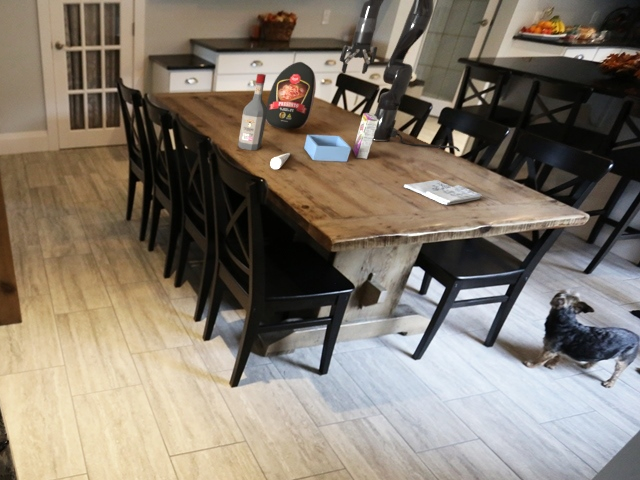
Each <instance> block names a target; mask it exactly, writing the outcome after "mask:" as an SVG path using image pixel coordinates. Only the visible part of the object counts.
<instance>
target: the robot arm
mask: <svg viewBox="0 0 640 480" xmlns="http://www.w3.org/2000/svg"><path fill="white" fill-rule="evenodd" d="M384 1H385V0H365V1H364V2H363V3H362V6H361V9H360V13H359V17H358V20H357V23H356V26H355V30H354V35H353V37H352V38H353V39H352V42H351V45H350V46H349V45H346V44H345V45H344V46H343V47H342V50H341V55H340V57H339V62H341V63H342V67H341V72H342V74H346V72H347V69H348V63H349V62H350V61H352V60H353V58H355V59H356V58H359V59H363V61H364V63H363V67H362V70H361V74H362V75H364V74H366V73H367V71H368V69H369V65H370V64H373V63H374V62H375V60H376V56H377V51H378V47H377V46H376V45H373V46H371V45H372V41H373V37H374V34H375V31H376V28H377V27H376V26H377V21H378V17H379V14H380V10H381V6H382V5H383V3H384ZM434 2H435V1H434V0H413V2H412V5H411V6H410V10H409V11H408V15H407V17H406V19H405V23H404V24H403V28H402V31H401V33H400V35H399V37H398V41H397V42H396V45H395V48H394V50H393V51H392V54H391V56H390V58H389V60H388V62H387V64H386V66H385V68H384V70H383V75H382V79H383V82H384V83H385V84H388V85H391V87H390V88H389V90H388V91H386V92H383V93H381V94H380V97H379V100H378V103H377V106H376V110H375V113H374V114H375V115H376V117H377V118H378V120H379V122H378V125H377V128H376V132H375V135H374V138H373V142H380V143H382V142H390V140H391V139H393V138H397V137H399V142H400V143H401V144H402V145H403V144H404V145H407V146H412V147H424V148H440V149H455V150H456V151H457V152H459V153H460V152H461V149H460V148H458V147H457V146H455V145H438V144H437V145H436V144H423V143H407V142H405V141H404V140H403V135H401V134H400V133H399V130H398V129H396V128H395V125H396V122H397V120H396V116H397V113H398V111H399V108H400V104H401V101H402V100H403V98H404V97H405V94H406V92H407V89H408V87H409V84H410V82H411V80H412V77H413V71H414V69H413V66H412V65H411V64H409V63H406V62H405V58H406V56H407V54H408V53H409V50H410V49H411V48H412V47H413V45H414V44H415V43H416V42H417V41H418V40H419V39H420V38H421V37H422V36H423V35H424V33H425V32H426V30H427V29H428V26H429V23H430V22H431V19H432V16H433V14H434V9H435V8H434V7H435V6H434V5H435V3H434ZM348 52H350V53H349V54H348V55H347V53H348ZM368 52H370V56H369V55H368ZM369 57H370V58H369Z"/></svg>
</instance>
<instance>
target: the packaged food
mask: <svg viewBox="0 0 640 480" xmlns="http://www.w3.org/2000/svg"><path fill="white" fill-rule="evenodd" d="M316 89H317V81H316V75H315V72H314V70H313V69H312V68H311V67H310V66H309V65H308V64H306V63H305V62H303V61H297V62H294V63H291V64H289V65H288V66H287V67H285V68H284V69H283V70H282V71H281V72H280V73H279V74H278V76H276V78H275V79H274V82H273V83H272V86H271V89H270V92H269V94H268V99H267V102H266V107H267V116H266V121H265V122H266V123H267V124H268V125H269V126H270V127H274V128H277V129H281V130H285V131H290V130H300V129H302V128H304V127H305V126H306V125H307V123H308V121H309V120H310V116H311V113H312V111H313V106H314V102H315V96H316Z"/></svg>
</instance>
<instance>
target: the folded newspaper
mask: <svg viewBox="0 0 640 480" xmlns="http://www.w3.org/2000/svg"><path fill="white" fill-rule="evenodd" d="M403 188H405V189H408V190H410V191H412V192H415V193H417V194H420V195H422V196H424V197H426V198H428V199H430V200H433V201H435V202H437V203H439V204H442V205H445V206H449V205H455V204H461V203H467V202H471V201H475V200H481V197H484V196H483V194H481V193H479V192H476V191H474V190H471V189H469V188H467V187H465V186H462V185H460V184H457V185H454V186H452V185H450V184H448V183H445V182H442V181H440V180H439V179H434V180H427V181H421V182H416V183H415V182H413V183H404V184H403Z"/></svg>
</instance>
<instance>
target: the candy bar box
mask: <svg viewBox="0 0 640 480" xmlns="http://www.w3.org/2000/svg"><path fill="white" fill-rule="evenodd" d="M378 122H379V120H378V118H377V117H376V115H375V113H371V112H370V113H368V112H364V113H362V117H361V121H360V125H359V128H358V132H357V135H356V138H355V142H354V145H353V148H352V152H353V154H354V156H355V158H356V159H363V160H368V158H369V154H370V151H371V149H372V144H373V142H374V141H373V138H374V135H375V132H376V128H377V125H378Z"/></svg>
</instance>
